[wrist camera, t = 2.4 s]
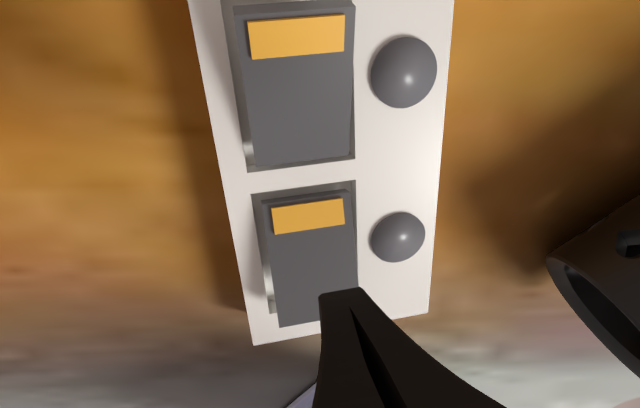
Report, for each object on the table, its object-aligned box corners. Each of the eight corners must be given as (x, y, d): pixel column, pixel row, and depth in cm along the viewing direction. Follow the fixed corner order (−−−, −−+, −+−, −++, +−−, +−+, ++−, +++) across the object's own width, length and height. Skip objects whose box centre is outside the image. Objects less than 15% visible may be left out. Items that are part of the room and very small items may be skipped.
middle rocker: (343, 142, 18) (349, 157, 17) (253, 153, 18) (256, 169, 17) (348, -3, 14) (356, 7, 13) (232, 5, 14) (233, 17, 13)
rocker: (355, 303, 21) (361, 314, 19) (277, 318, 20) (279, 329, 19) (345, 188, 19) (350, 192, 18) (260, 200, 19) (261, 205, 18)
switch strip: (411, 285, 25) (429, 315, 23) (251, 314, 24) (253, 348, 22) (448, -385, 13) (497, -471, 10) (118, -407, 11) (89, -512, 9)
